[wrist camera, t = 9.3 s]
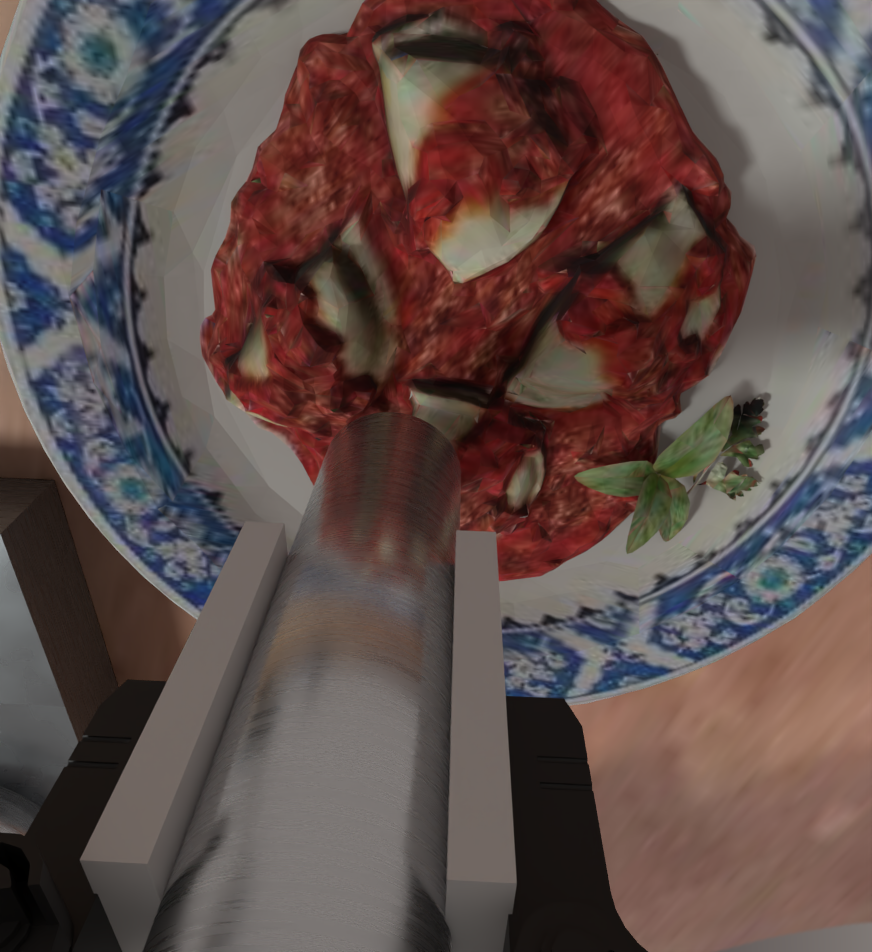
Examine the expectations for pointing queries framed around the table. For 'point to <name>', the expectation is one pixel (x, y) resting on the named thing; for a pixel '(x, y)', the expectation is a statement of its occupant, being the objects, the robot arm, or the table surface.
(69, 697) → the block
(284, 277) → the ceramic plate
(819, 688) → the table surface
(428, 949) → the pin
